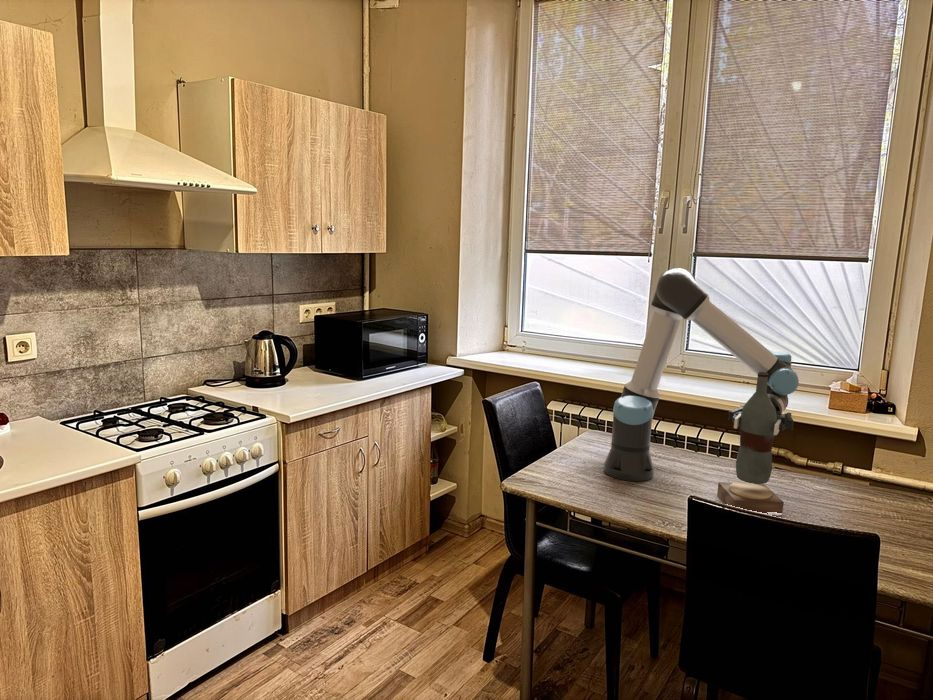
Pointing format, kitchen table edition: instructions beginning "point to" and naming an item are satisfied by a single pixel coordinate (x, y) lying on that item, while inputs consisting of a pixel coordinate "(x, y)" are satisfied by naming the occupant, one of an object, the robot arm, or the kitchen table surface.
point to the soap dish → (750, 497)
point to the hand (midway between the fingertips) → (755, 426)
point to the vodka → (756, 435)
